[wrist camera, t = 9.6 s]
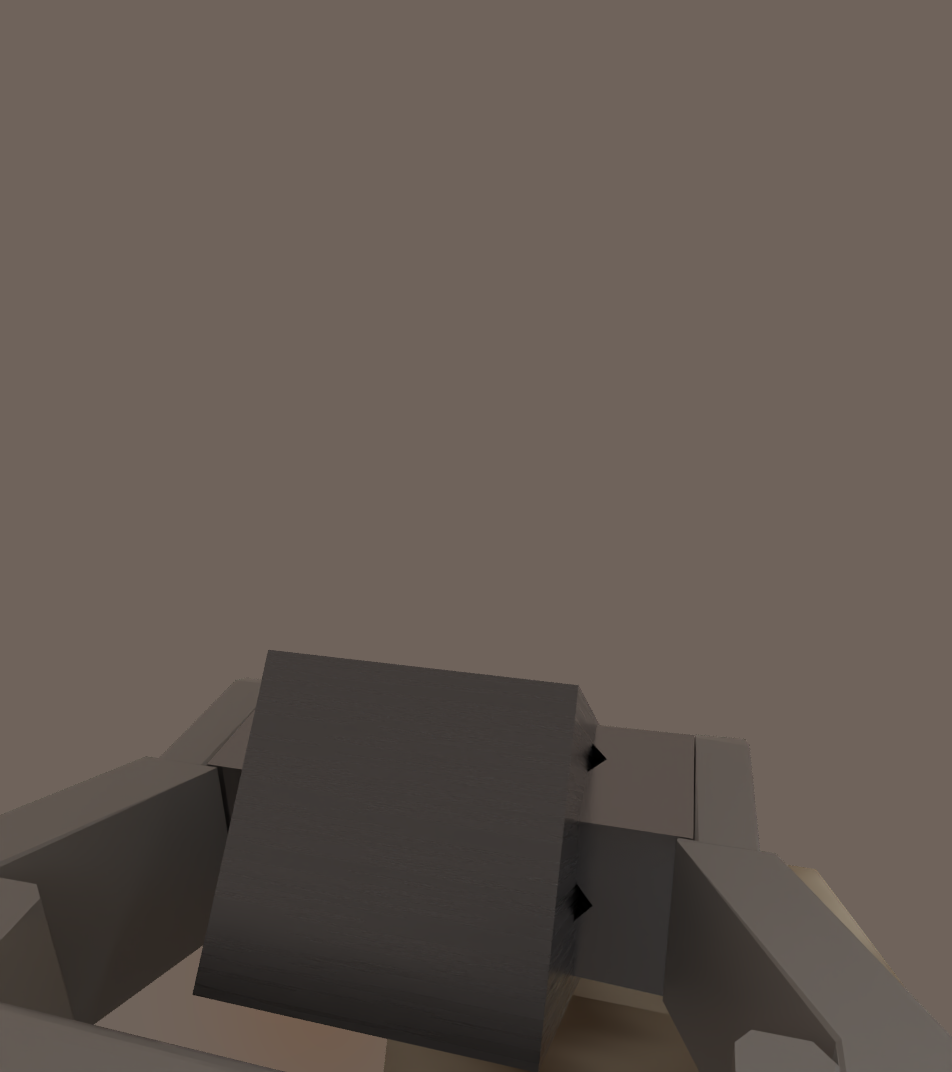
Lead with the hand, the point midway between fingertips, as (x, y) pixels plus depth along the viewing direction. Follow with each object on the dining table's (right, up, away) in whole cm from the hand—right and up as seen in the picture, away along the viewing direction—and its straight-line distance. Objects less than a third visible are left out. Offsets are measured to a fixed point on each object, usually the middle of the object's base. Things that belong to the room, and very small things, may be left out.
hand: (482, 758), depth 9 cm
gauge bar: (+1, -5, +8) cm, 9 cm away
